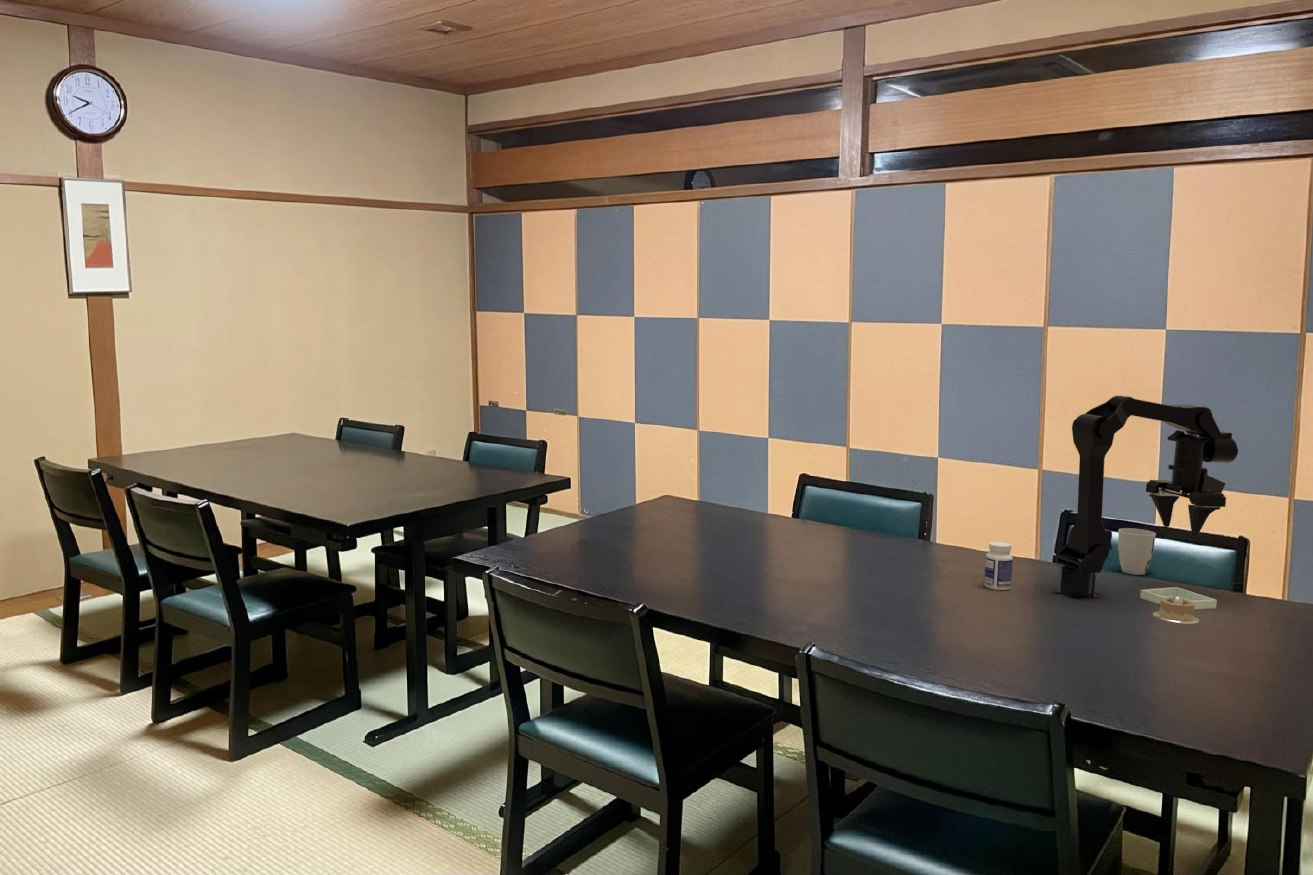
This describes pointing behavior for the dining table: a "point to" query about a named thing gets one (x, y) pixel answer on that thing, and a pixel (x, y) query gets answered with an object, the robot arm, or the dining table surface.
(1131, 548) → the cup
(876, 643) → the dining table surface
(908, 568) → the dining table surface
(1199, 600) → the dish
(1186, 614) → the ring
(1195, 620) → the clear stemmed base
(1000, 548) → the pill bottle
